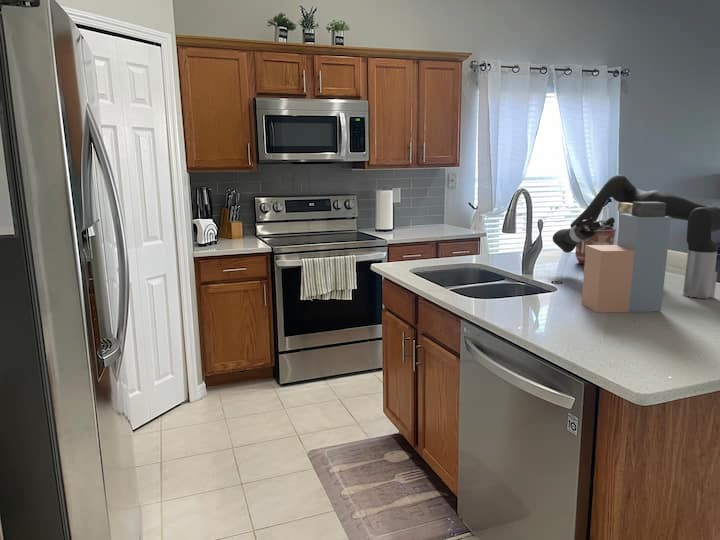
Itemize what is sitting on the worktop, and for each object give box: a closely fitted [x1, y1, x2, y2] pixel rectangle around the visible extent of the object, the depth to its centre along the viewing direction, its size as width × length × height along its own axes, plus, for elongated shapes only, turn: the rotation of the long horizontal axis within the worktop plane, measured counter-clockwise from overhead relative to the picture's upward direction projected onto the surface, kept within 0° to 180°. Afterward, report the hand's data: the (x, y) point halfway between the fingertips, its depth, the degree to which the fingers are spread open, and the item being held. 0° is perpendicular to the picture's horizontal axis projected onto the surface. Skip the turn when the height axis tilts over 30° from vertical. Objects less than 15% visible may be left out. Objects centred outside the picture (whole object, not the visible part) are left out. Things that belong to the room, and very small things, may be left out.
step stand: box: [581, 213, 672, 313], centre depth 188 cm, size 22×12×32 cm, turn 91°
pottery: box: [575, 227, 617, 266], centre depth 264 cm, size 18×18×18 cm
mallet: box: [617, 201, 666, 217], centre depth 190 cm, size 21×8×4 cm, turn 1°
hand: (602, 220), depth 212 cm, fingers open, 8 cm apart
